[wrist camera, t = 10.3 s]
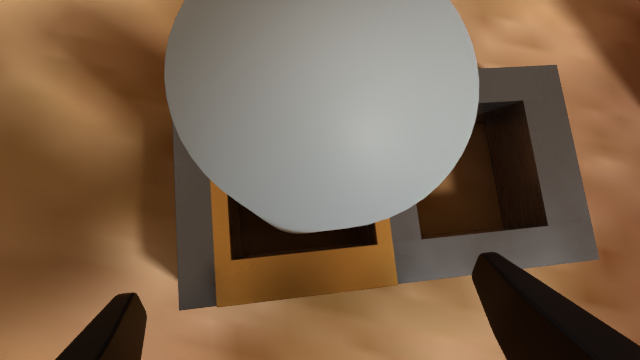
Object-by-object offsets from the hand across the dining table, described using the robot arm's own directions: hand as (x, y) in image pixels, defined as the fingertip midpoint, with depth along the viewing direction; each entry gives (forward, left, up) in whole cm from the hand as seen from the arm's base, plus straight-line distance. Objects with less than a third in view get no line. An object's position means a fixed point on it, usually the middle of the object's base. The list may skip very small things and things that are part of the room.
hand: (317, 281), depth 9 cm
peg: (+3, 0, -7) cm, 8 cm away
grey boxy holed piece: (+3, -4, -7) cm, 9 cm away
